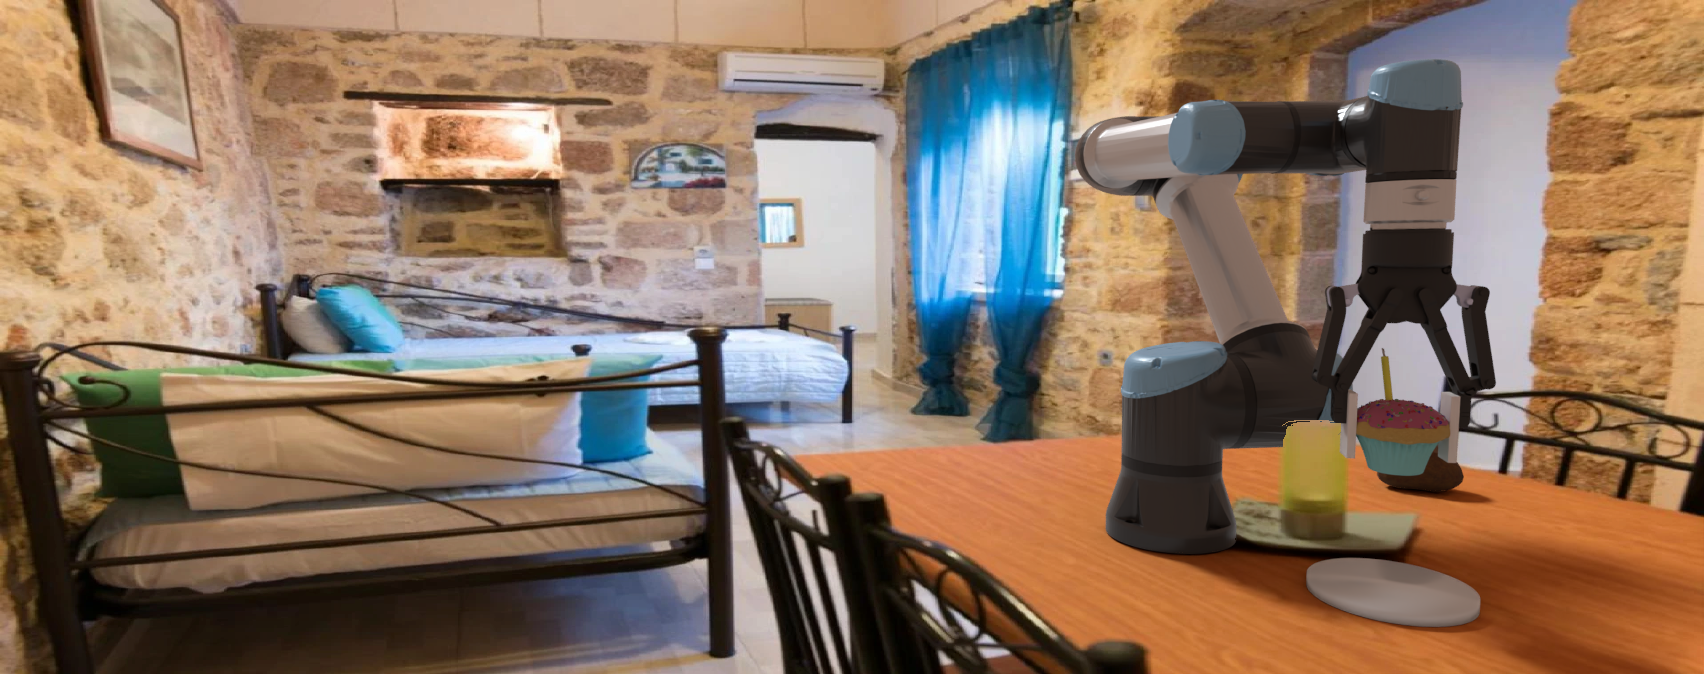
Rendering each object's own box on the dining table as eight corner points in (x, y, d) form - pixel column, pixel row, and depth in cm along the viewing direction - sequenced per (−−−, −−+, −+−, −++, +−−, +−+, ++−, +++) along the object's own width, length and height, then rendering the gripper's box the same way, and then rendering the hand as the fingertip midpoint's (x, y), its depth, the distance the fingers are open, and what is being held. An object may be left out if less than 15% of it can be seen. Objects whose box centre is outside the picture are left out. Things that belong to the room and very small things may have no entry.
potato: (1371, 480, 134) (1373, 433, 133) (1452, 485, 130) (1455, 438, 130) (1382, 492, 127) (1384, 444, 126) (1468, 498, 124) (1471, 448, 123)
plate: (1325, 617, 86) (1325, 605, 85) (1292, 563, 100) (1293, 552, 100) (1507, 633, 82) (1508, 621, 81) (1446, 574, 96) (1447, 563, 96)
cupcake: (1328, 465, 92) (1332, 348, 90) (1385, 456, 95) (1390, 343, 94) (1409, 485, 84) (1415, 357, 82) (1468, 474, 87) (1475, 351, 86)
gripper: (1297, 228, 86) (1288, 460, 88) (1553, 224, 81) (1537, 472, 83) (1282, 229, 93) (1274, 444, 96) (1516, 225, 88) (1502, 453, 90)
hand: (1396, 457), depth 89 cm, fingers closed on cupcake, 8 cm apart
